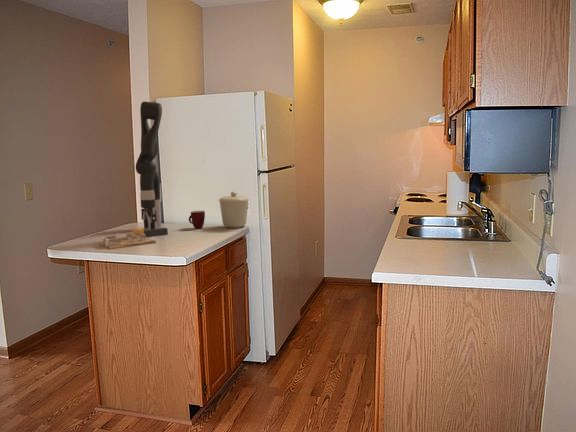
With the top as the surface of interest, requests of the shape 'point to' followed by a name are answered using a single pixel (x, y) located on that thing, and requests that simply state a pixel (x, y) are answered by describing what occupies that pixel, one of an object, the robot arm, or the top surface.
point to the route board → (126, 241)
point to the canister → (234, 210)
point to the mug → (197, 219)
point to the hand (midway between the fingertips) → (149, 228)
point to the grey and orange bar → (151, 232)
